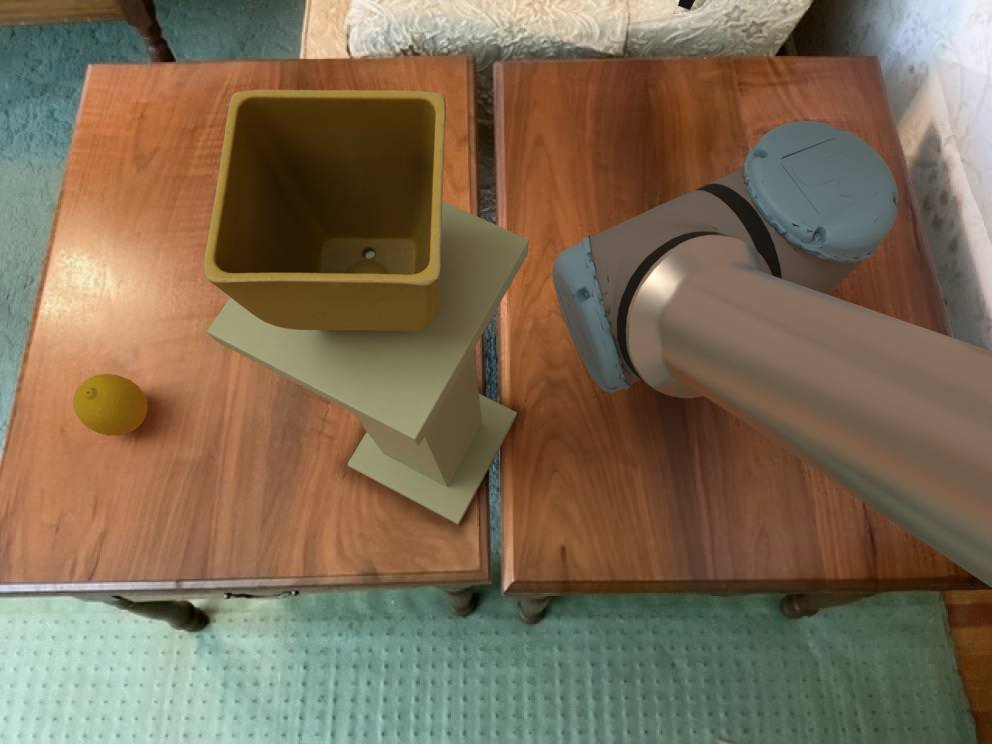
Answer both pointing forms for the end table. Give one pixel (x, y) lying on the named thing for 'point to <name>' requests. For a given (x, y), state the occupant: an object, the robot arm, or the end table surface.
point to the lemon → (110, 404)
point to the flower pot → (331, 208)
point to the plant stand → (408, 372)
